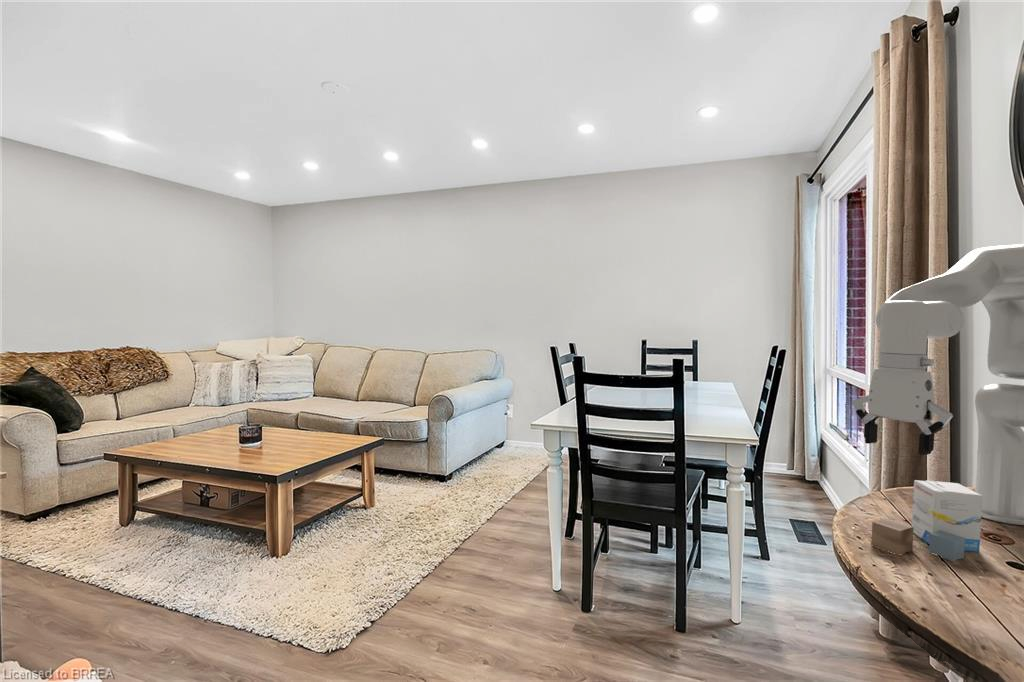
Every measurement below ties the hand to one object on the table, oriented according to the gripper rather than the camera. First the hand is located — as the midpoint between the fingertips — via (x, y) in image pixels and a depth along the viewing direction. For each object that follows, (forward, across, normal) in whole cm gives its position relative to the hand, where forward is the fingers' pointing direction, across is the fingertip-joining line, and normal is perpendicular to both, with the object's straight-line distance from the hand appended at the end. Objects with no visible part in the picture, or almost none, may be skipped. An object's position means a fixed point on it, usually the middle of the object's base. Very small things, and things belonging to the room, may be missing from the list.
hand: (896, 448), depth 104 cm
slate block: (+20, -6, -7) cm, 22 cm away
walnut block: (+20, 0, 0) cm, 21 cm away
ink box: (+20, -3, -14) cm, 25 cm away
